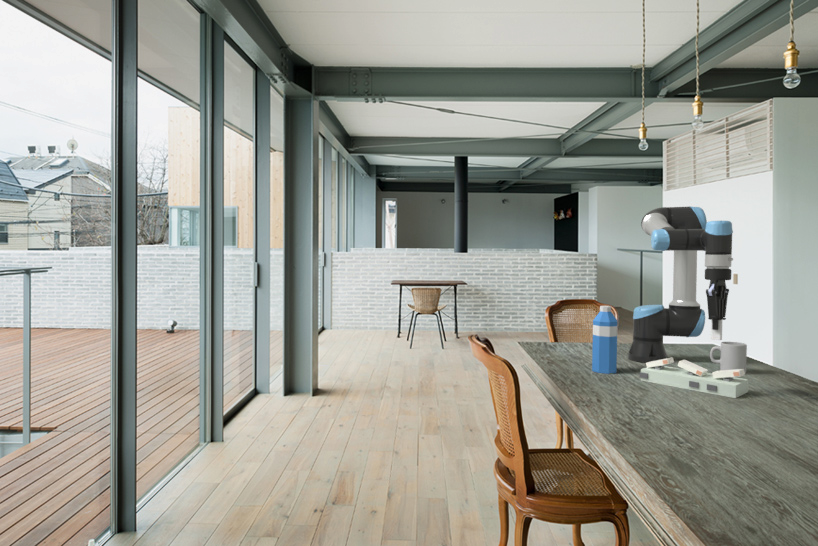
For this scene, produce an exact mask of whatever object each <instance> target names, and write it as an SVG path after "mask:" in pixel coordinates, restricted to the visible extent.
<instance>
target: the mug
mask: <svg viewBox="0 0 818 546" xmlns="http://www.w3.org/2000/svg"><path fill="white" fill-rule="evenodd" d="M747 346H748V345H747V343H745V342H744V343H742V342H739V341H738V342H737V341H722V342H721V343H720V345H716V346H713V347H711V349H710V351H709V358H710V361H711V362H712V363H713V364H716V365H719V371H720V370H735V369H744V372H745V375H746V374H747V354H748V353H747V351H748V348H747ZM715 351H719V352H720V358H719V359H715V358H714V352H715Z"/></svg>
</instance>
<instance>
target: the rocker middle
mask: <svg viewBox="0 0 818 546" xmlns="http://www.w3.org/2000/svg"><path fill="white" fill-rule="evenodd" d="M677 367H678V368H680V369H685V370H688V371H690V372H692V373H694V374H697V375H699V376H704V375H706V374H707V373H708V371H709V369H707V368H704V367H702V366H700V365H698V364H696V363H694V362H691V361H689V360H686V359H682V360H679V361H678V363H677Z"/></svg>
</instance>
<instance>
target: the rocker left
mask: <svg viewBox="0 0 818 546" xmlns="http://www.w3.org/2000/svg"><path fill="white" fill-rule="evenodd" d="M673 363H675V360H674V357H672V356H671V357H667V358H666V359H661V360H656V361H651V362H647V363H646V362H645V364H646V367H647V368H650V367H655V366H667V365H671V364H673Z"/></svg>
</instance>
